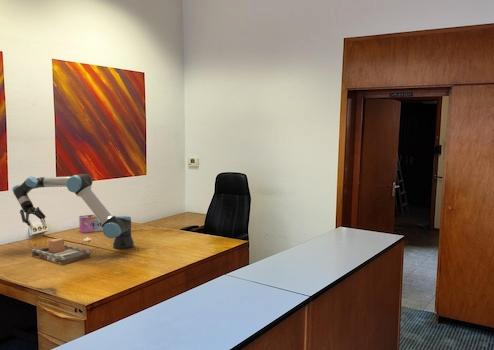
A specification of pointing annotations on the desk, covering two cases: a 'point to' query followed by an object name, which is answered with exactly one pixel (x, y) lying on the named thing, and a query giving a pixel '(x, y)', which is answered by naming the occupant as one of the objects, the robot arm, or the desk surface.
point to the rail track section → (62, 254)
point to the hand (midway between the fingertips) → (39, 227)
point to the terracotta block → (56, 245)
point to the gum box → (89, 224)
